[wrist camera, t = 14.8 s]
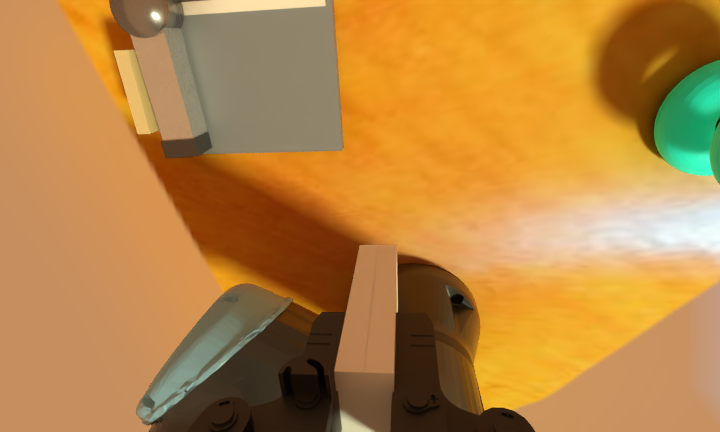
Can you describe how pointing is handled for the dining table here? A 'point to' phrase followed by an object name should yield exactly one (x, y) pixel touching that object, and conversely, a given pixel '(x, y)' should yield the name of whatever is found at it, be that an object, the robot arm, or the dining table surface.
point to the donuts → (692, 123)
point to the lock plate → (255, 75)
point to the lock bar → (166, 72)
